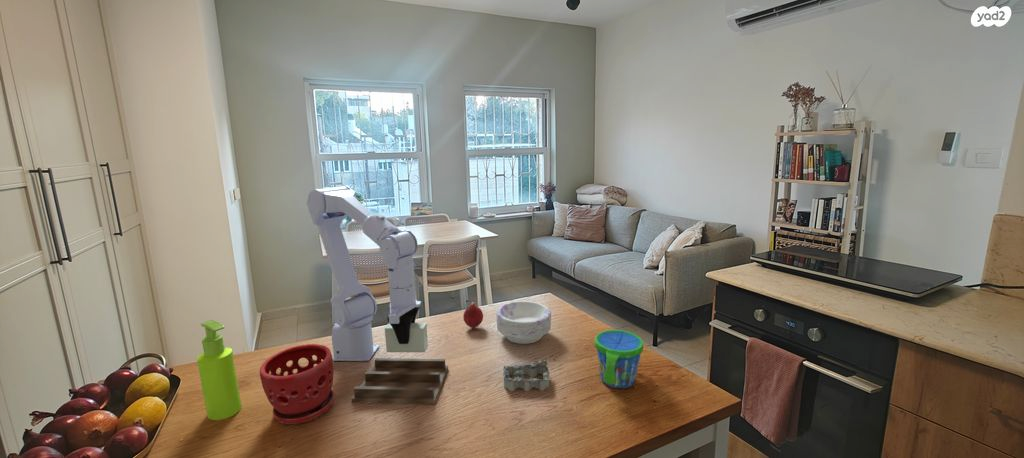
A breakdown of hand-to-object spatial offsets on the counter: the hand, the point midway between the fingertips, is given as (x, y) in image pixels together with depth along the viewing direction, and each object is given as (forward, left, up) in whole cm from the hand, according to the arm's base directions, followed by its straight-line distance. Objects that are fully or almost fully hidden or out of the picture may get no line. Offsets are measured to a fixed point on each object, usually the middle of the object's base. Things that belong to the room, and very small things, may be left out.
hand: (406, 339), depth 100 cm
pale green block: (0, 0, -2) cm, 2 cm away
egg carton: (+28, -3, -9) cm, 30 cm away
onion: (+12, +26, -9) cm, 30 cm away
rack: (0, -4, -9) cm, 10 cm away
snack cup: (+49, -1, -9) cm, 50 cm away
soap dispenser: (-34, -15, -9) cm, 38 cm away
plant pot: (-18, -14, -9) cm, 25 cm away
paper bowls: (+27, +21, -9) cm, 35 cm away
